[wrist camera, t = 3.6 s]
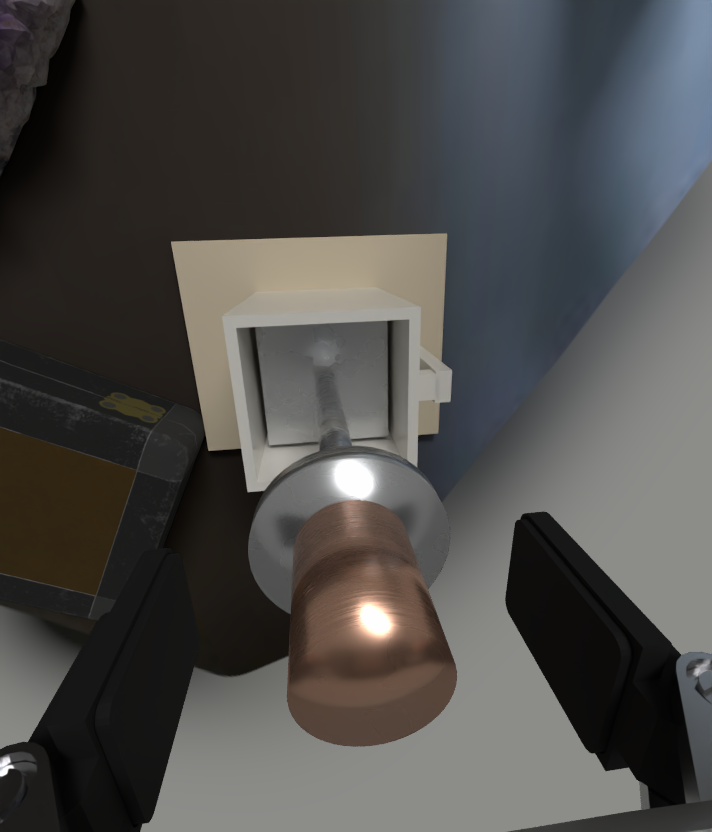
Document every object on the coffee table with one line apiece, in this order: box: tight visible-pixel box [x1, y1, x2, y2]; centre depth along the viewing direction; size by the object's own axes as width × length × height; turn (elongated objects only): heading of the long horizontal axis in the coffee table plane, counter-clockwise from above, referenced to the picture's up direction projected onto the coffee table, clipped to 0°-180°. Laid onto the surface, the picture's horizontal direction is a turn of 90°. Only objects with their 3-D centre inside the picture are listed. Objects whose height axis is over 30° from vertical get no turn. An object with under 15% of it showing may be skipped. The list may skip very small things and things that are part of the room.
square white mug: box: [171, 234, 452, 492], centre depth 30 cm, size 22×18×16 cm
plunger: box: [248, 321, 457, 746], centre depth 17 cm, size 8×8×21 cm
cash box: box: [0, 339, 205, 621], centre depth 35 cm, size 25×20×8 cm
